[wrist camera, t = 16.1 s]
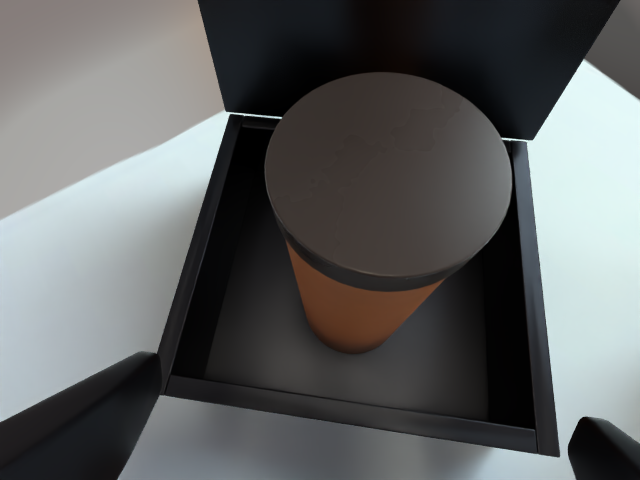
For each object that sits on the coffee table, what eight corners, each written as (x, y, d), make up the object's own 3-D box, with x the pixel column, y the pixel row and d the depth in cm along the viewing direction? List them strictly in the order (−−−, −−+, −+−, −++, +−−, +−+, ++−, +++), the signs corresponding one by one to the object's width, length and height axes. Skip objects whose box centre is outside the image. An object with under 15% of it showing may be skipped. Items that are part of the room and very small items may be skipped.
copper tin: (325, 372, 18) (319, 322, 6) (289, 280, 20) (234, 111, 8) (417, 332, 19) (567, 219, 7) (374, 247, 21) (434, 46, 9)
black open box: (500, 442, 18) (561, 458, 13) (189, 394, 19) (144, 392, 14) (487, 192, 23) (526, 141, 19) (248, 167, 24) (229, 113, 20)
